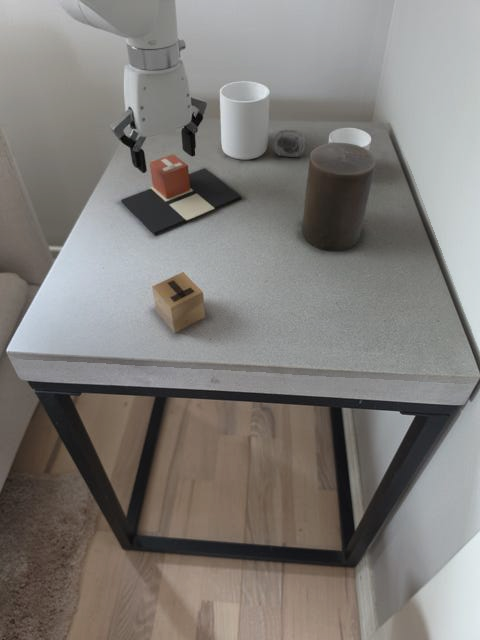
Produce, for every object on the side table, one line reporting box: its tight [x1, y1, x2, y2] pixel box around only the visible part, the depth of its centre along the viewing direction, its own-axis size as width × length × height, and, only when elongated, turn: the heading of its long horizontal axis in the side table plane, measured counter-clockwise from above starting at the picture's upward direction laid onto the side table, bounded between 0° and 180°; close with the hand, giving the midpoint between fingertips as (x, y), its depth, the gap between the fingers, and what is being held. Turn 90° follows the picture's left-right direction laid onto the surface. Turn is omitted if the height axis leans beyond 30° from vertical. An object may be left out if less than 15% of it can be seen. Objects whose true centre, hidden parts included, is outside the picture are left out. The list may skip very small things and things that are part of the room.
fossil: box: [272, 129, 306, 158], centre depth 97 cm, size 6×3×5 cm, turn 89°
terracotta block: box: [149, 153, 190, 199], centre depth 87 cm, size 5×5×5 cm
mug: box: [219, 80, 271, 161], centre depth 96 cm, size 10×12×12 cm
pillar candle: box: [301, 142, 377, 252], centre depth 75 cm, size 10×10×15 cm
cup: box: [327, 127, 372, 151], centre depth 91 cm, size 8×10×7 cm
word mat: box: [121, 167, 242, 236], centre depth 87 cm, size 18×13×1 cm
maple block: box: [151, 271, 206, 334], centre depth 67 cm, size 5×5×5 cm
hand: (165, 161), depth 84 cm, fingers open, 9 cm apart
